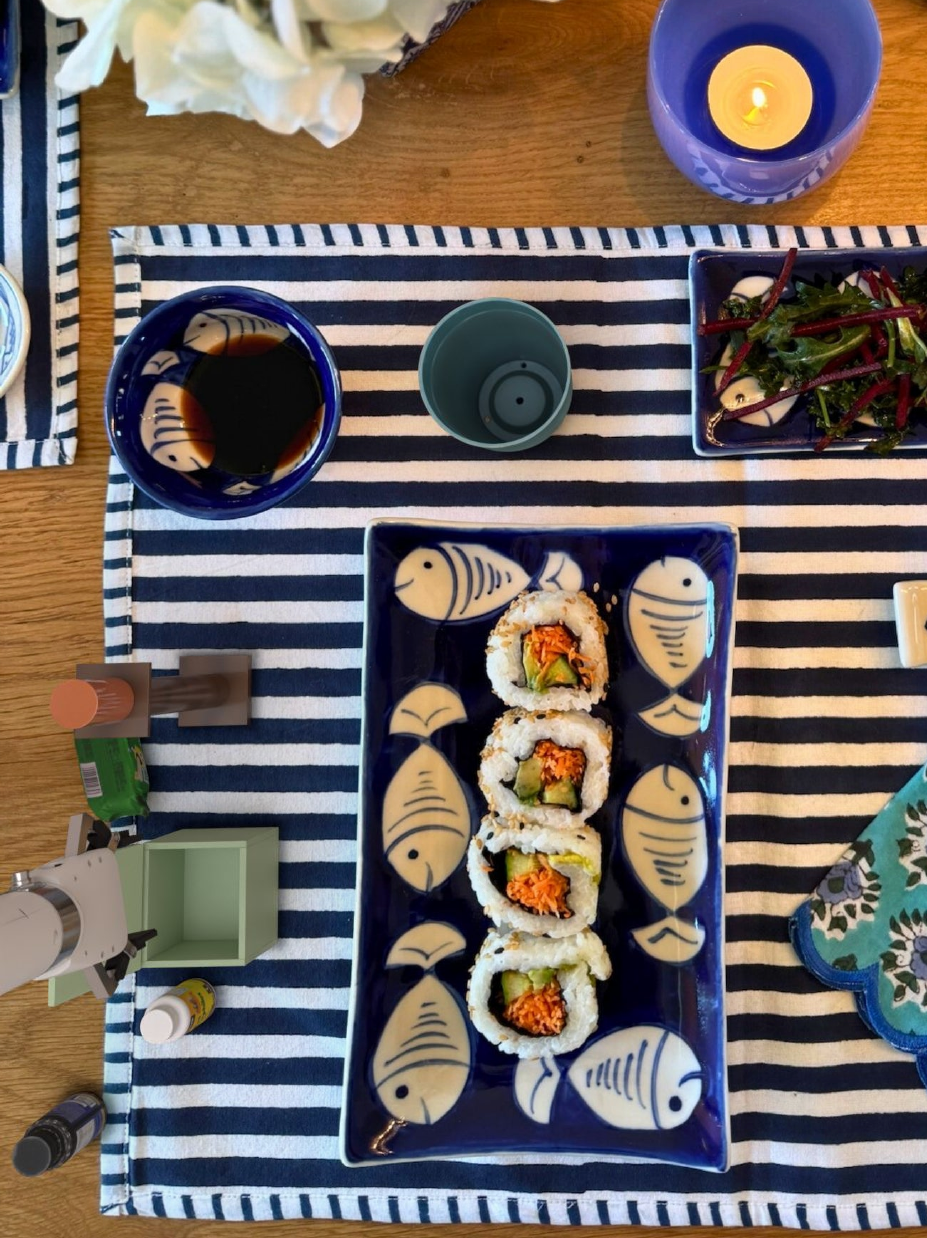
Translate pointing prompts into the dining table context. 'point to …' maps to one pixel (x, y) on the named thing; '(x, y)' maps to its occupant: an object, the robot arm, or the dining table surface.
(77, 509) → the dining table surface
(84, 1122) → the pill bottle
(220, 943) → the chest
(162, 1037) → the supplement bottle
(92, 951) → the robot arm
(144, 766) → the snack package
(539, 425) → the flower pot
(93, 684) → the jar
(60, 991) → the lid
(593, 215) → the dining table surface
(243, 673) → the stand
